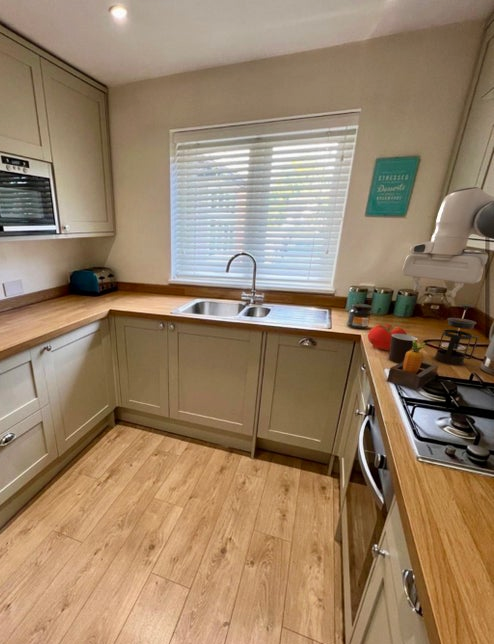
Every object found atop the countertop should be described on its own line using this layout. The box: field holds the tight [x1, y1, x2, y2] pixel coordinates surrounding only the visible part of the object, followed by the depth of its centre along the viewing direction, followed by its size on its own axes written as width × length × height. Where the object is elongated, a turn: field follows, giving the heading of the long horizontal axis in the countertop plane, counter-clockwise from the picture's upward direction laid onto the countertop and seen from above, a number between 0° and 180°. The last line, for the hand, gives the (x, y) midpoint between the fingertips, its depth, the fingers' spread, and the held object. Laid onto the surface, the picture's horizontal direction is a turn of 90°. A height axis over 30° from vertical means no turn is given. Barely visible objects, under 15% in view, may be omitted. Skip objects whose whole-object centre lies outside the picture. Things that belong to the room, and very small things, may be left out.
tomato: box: [367, 324, 408, 351], centre depth 145 cm, size 14×16×10 cm
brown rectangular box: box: [386, 361, 439, 392], centre depth 114 cm, size 9×16×5 cm, turn 127°
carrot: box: [403, 341, 426, 374], centre depth 110 cm, size 5×5×15 cm
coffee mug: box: [388, 334, 418, 364], centre depth 131 cm, size 12×9×10 cm
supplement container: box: [346, 303, 373, 330], centre depth 176 cm, size 10×10×12 cm
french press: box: [433, 304, 479, 366], centre depth 129 cm, size 12×9×23 cm
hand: (433, 294), depth 103 cm, fingers open, 8 cm apart
